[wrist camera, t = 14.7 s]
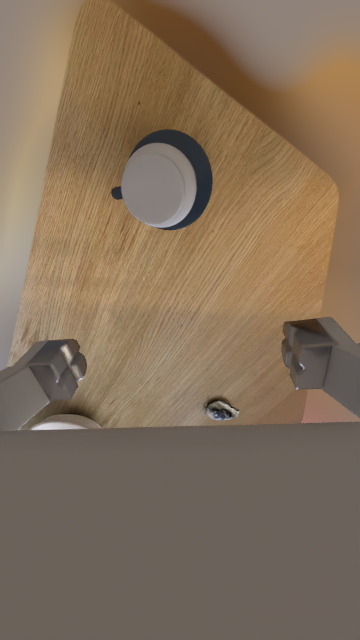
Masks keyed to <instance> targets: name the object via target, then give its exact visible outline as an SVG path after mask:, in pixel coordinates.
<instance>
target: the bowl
mask: <svg viewBox="0 0 360 640" xmlns="http://www.w3.org/2000/svg"><path fill="white" fill-rule="evenodd" d="M97 428H102V427H100V426H99V425H98V424H97V423H96V422H94V421H93V420H91V419H89V418H87V417H84V416H81V415H75V414H59V415H53V416H50V417H48V418H46V419H44V420H43V421H42V422H41V423H38V424H36V425H34V426H32V427H31V428H30V429H29V430H58V429H97Z"/></svg>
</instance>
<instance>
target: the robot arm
mask: <svg viewBox="0 0 360 640" xmlns="http://www.w3.org/2000/svg"><path fill="white" fill-rule="evenodd" d="M283 333H284V335H285V339H284V340H283V341H282V347H281V350H282V357H283V361H284V364H285V366H286V367H288V368H289V369H290V377H291V379H292V382H293V384H294V386H295V388H296V389H323V390H324V391H325V392H326V393H328V394H329V395H330V396H331V397H333V398H334V399H335V400H337V401H338V402H339V403H340V404H342V405H343V406H344V407H346V408H347V409H348V410H349V411H351V412H352V413H353V414H355V415H356V416H357V417H359V418H360V343H359V344H356V343H355V342H354V341H353V340H352V339H351V338H350V336H349V335H348V334H347V333H346V332H345V331H344V330H343V329H342V328H341V327H340V326H339V325H338V323H336V321H335V320H334V319H333V318H331V317H324V318H316V319H307V320H298V321H288V322H284V325H283ZM79 349H80V346H79V344H78V342H77V340H74V339H63V340H47V341H39V342H36V343H35V344H34V345H33V346H32V347H31V348H30V349H29V350H28V351H27V352H26V353H25V354H24V355H23V356H22V357H21V358H20V359H19V360H18V362H17V363H16V364H15V365H14V366H13V367H8V368H6V369H4V370H2V371H0V640H360V422H336V423H335V422H333V423H297V424H258V425H216V426H174V427H135V428H97V429H58V430H19V429H20V428H21V427H22V426H23V425H24V424H25V423H27V422H28V421H29V420H30V419H31V418H32V417H34V416H35V415H36V414H37V413H38V412H39V411H40V410H42V409H43V408H44V407H45V406H46V405H47V404H49V403H50V401H54V400H68V399H71V398H72V396H73V394H74V393H75V391H76V389H77V387H78V384H77V382H78V381H80V380H81V379H82V378H83V377H84V375H85V373H86V369H87V363H86V359H85V357H84V355H83V354H81V353H80V352H79ZM17 430H19V431H17Z"/></svg>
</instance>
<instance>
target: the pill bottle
mask: <svg viewBox="0 0 360 640" xmlns="http://www.w3.org/2000/svg"><path fill="white" fill-rule="evenodd" d="M196 191H197V175H196V171H195V169H194V167H193V165H192V163H191V161H190V160H189V159H188V158H187V157H186V156H185V155H184V154H183V153H182V152H181V151H180V150H178V149H177V148H175V147H174V146H171V145H168V144H164V143H151V144H147V145H145V146H143V147H141V148H139V149H138V150H137V151H135V152H134V153H133V155H132V156H131V157H130V158H129V160H128V162H127V164H126V166H125V169H124V173H123V176H122V180H121V193H122V197H123V200H124V203H125V205H126V207H127V209H128V210H129V212H130V213H131V214H132V215H133V216H134V217H135V218H136V219H138V220H139V221H141V222H143V223H145V224H147V225H149V226H153V227H158V228H164V227H170V226H173V225H175V224H177V223H179V222H180V221H181V220H183V219H184V218H185V217H186V216H187V214H188V213H189V211H190V210H191V208H192V206H193V203H194V200H195V196H196Z"/></svg>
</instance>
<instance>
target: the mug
mask: <svg viewBox="0 0 360 640" xmlns="http://www.w3.org/2000/svg"><path fill="white" fill-rule="evenodd" d="M151 143H164V144H168V145H171V146H174V147H175V148H177V149H178V150H180V151H181V152H182V153H183V154H184V155H185V156H186V157H187V158H188V159H189V160H190V161H191V163H192V165H193V167H194V169H195V171H196V175H197V191H196V196H195V200H194V203H193V206H192V208H191V210H190V211H189V213H188V214H187V216H186V217H185V218H184V219H183V220H181V221H180V222H179V223H177V224H175V225H173V226H170V227H164V228H159V229H163V230H177V229H181V228H184V227H186V226H188V225H190V224H192V223H193V222H194V221H196V220H197V219H198V218H199V217H200V215H201V214H202V213H203V211H204V210H205V208H206V206H207V204H208V202H209V199H210V196H211V191H212V171H211V166H210V163H209V160H208V158H207V156H206V154H205V152H204V150H203V149H202V148H201V146H200V145H199V144H198V143H197V142H196V141H195V140H194V139H193V138H192V137H190V136H188V135H187V134H185V133H183V132H180V131H176V130H168V129H166V130H159V131H156V132H153V133H151V134H149V135H147V136H146V137H145V138H143V139H142V140H141V141H140V142H139V143H138V144H137V146H136V147H135V148H134V150H133V152H132V153H131V155H130V157H131V156H132V155H133V153H134V152H135V151H137V150H138V149H139V148H141V147H143V146H145V145H147V144H151ZM111 194H112V197H113V198H114V199H117V200H119V199H123V197H122V193H121V186H120V187H115V188H113V189H112V191H111ZM156 228H158V227H156Z"/></svg>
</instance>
